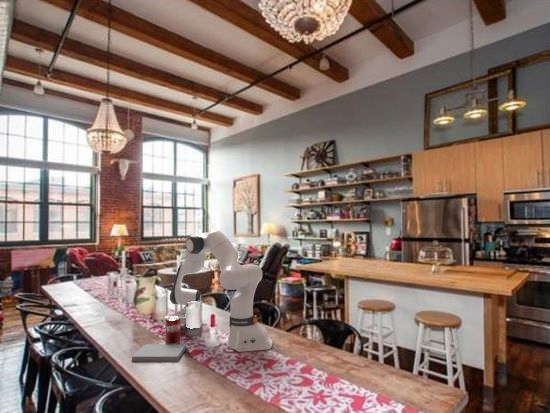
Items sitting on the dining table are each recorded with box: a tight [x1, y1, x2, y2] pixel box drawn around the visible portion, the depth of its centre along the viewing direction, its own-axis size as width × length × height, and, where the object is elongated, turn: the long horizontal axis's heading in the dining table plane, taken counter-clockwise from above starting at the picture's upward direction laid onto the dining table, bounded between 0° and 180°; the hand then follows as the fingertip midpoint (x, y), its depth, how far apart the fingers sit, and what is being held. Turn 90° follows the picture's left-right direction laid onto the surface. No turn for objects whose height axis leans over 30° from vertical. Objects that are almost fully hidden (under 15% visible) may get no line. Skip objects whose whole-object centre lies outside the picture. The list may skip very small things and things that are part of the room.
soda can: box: [164, 316, 182, 344], centre depth 164 cm, size 7×7×12 cm
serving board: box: [131, 343, 187, 362], centre depth 148 cm, size 20×14×2 cm
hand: (178, 323), depth 173 cm, fingers open, 8 cm apart
